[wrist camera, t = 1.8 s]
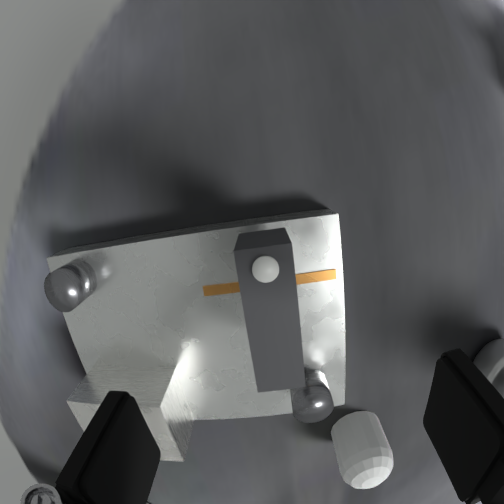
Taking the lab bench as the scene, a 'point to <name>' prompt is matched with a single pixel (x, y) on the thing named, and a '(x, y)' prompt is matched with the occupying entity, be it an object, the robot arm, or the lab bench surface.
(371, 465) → the capsule
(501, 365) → the plastic bottle
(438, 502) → the lab bench surface
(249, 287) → the block
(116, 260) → the levelling base
